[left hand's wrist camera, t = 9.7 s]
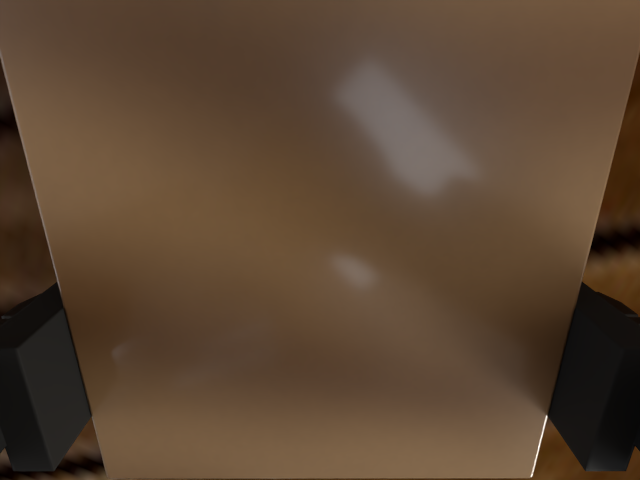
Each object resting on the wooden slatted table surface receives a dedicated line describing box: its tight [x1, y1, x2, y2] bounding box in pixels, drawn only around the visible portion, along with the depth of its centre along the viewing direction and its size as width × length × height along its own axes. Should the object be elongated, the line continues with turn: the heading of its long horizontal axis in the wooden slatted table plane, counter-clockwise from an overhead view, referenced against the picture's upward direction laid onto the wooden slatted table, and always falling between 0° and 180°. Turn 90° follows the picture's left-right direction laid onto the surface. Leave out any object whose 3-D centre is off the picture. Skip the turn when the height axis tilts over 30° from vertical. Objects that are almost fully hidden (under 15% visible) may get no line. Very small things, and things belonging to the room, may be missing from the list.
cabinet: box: [0, 0, 640, 479], centre depth 11 cm, size 18×10×9 cm, turn 0°
